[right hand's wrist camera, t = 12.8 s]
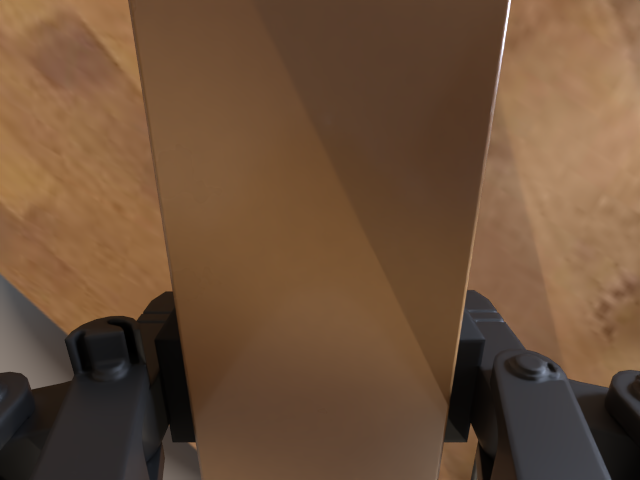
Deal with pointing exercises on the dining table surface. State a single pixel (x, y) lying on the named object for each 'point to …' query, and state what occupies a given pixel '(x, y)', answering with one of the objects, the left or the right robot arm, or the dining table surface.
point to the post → (319, 221)
